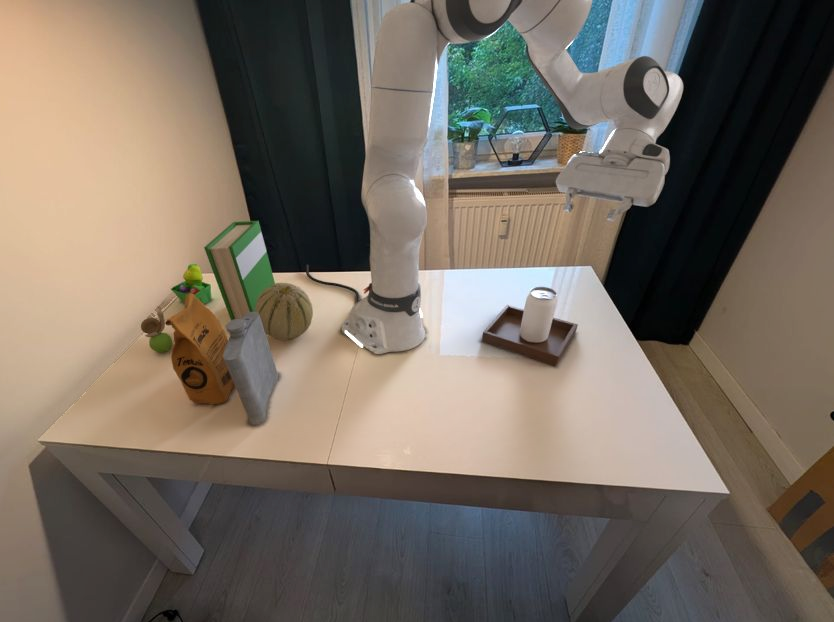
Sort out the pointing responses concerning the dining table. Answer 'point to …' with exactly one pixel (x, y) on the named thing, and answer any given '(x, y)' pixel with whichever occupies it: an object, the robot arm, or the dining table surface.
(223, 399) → the coffee package
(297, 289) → the cantaloupe
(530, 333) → the can
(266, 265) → the hardback book
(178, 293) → the fruit basket
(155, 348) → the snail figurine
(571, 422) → the dining table surface
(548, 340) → the tray
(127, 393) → the dining table surface
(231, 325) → the hip flask
